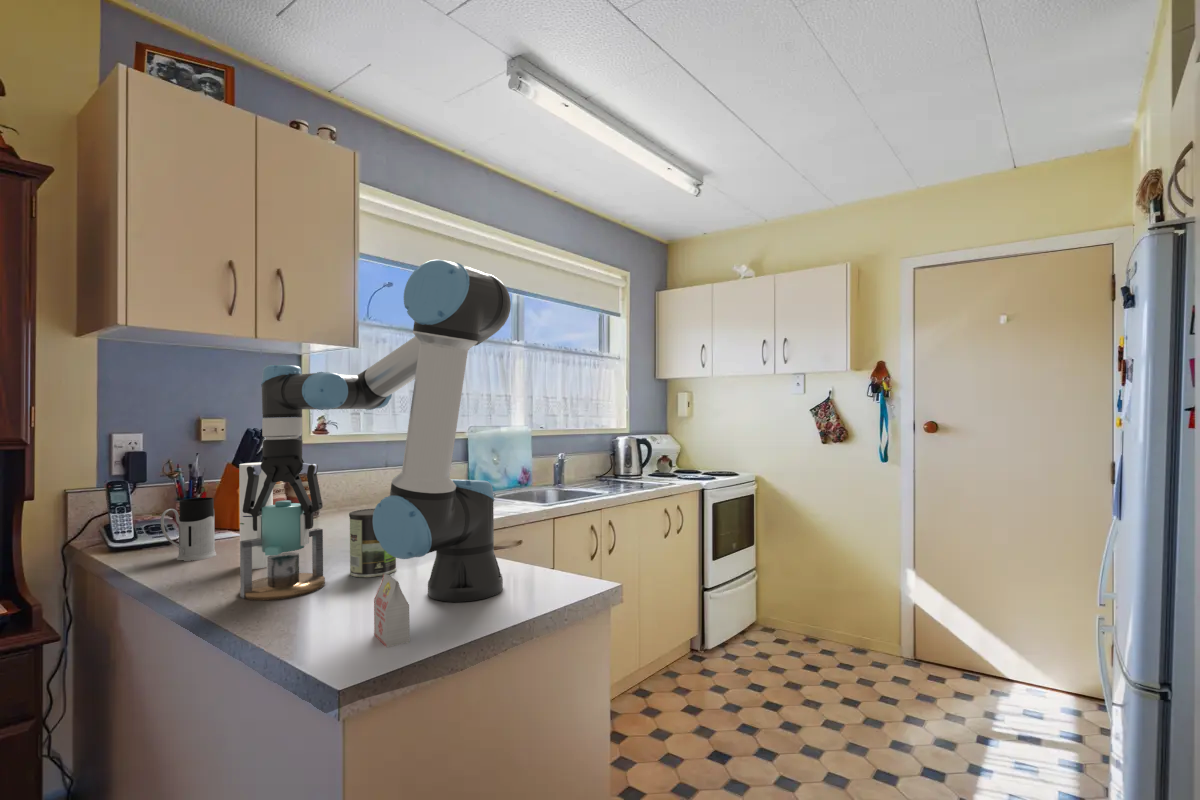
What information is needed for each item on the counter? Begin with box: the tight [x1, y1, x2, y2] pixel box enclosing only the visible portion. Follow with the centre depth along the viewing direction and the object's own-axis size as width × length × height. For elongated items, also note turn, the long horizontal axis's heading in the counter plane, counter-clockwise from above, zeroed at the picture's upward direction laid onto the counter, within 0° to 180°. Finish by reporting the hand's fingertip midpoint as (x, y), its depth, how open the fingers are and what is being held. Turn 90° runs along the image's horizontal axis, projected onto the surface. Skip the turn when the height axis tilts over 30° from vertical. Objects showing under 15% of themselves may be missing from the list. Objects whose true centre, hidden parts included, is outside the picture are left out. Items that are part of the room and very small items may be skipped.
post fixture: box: [239, 527, 326, 602], centre depth 130 cm, size 16×16×11 cm
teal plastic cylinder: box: [262, 499, 305, 556], centre depth 130 cm, size 8×12×10 cm, turn 6°
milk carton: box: [373, 574, 411, 648], centre depth 101 cm, size 4×7×10 cm, turn 36°
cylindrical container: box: [238, 461, 274, 570], centre depth 151 cm, size 7×7×25 cm
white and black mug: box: [160, 497, 217, 562], centre depth 158 cm, size 9×14×15 cm, turn 166°
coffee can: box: [348, 507, 397, 578], centre depth 143 cm, size 10×10×14 cm
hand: (283, 545), depth 130 cm, fingers closed on teal plastic cylinder, 8 cm apart
